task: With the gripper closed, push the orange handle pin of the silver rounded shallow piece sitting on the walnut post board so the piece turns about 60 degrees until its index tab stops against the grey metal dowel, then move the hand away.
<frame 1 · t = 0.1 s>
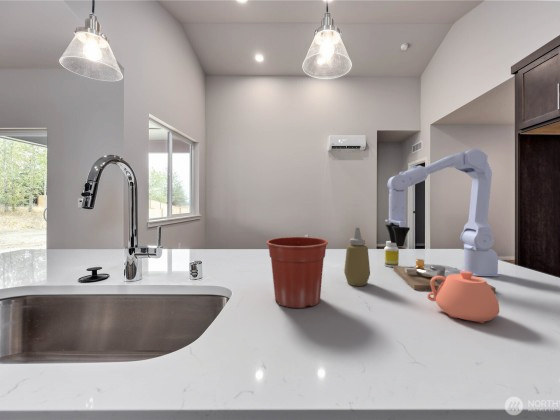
hand: (396, 244, 100), 10 cm above the counter, tool pointing down, fingers open, 7 cm apart
squeeze bottle: (356, 284, 86), on the counter
silver rounded shallow piece: (432, 266, 89), point 4 cm above the counter, hinge at 0.0°
post board: (437, 280, 89), on the counter
flower pot: (297, 300, 73), on the counter
sugar bowl: (460, 314, 63), on the counter
supplement bottle: (391, 266, 109), on the counter
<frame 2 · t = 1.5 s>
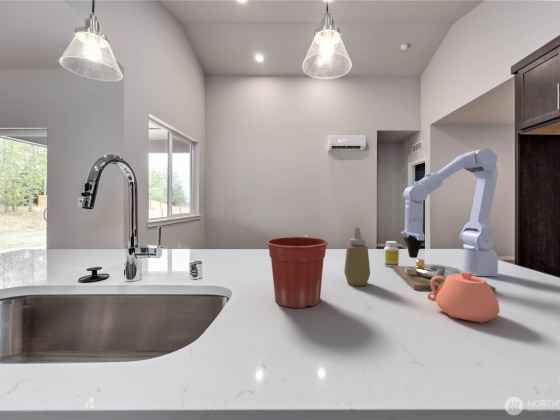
hand: (413, 257, 96), 6 cm above the counter, tool pointing down, fingers closed
nothing on the counter moved.
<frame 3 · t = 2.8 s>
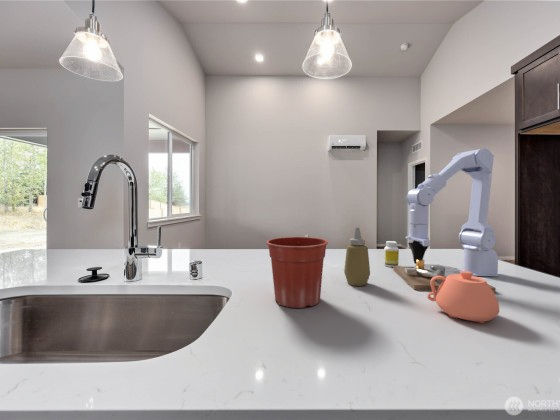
hand: (418, 263, 92), 5 cm above the counter, tool pointing down, fingers closed, pressing on silver rounded shallow piece
silver rounded shallow piece: (432, 266, 89), point 4 cm above the counter, hinge at 0.9°, touching gripper
everything else where it was.
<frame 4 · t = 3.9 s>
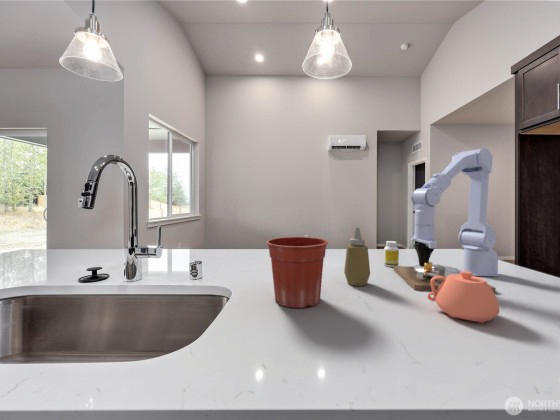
hand: (423, 266, 88), 5 cm above the counter, tool pointing down, fingers closed, pressing on silver rounded shallow piece
silver rounded shallow piece: (435, 267, 88), point 4 cm above the counter, hinge at 38.9°, touching gripper
everything else where it was.
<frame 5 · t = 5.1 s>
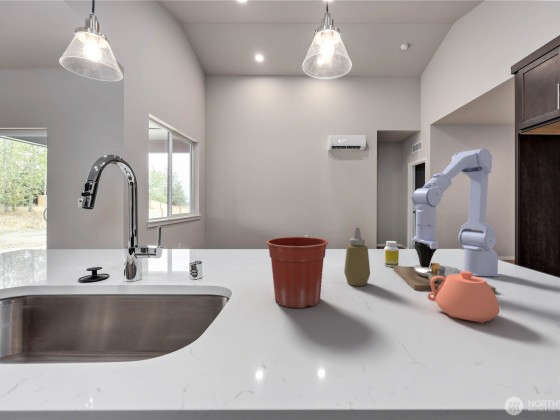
hand: (424, 267, 87), 5 cm above the counter, tool pointing down, fingers closed
silver rounded shallow piece: (436, 267, 88), point 4 cm above the counter, hinge at 59.9°
everything else where it was.
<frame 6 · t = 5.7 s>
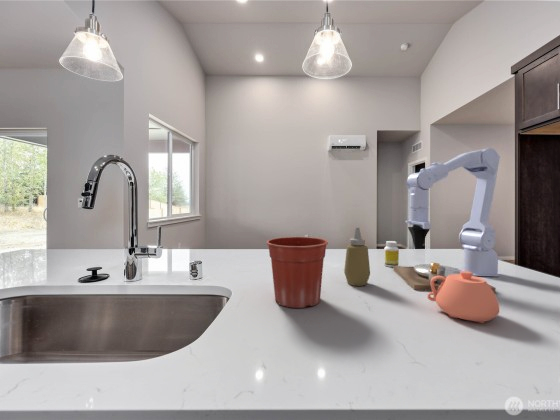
hand: (418, 247, 92), 10 cm above the counter, tool pointing down, fingers closed
nothing on the counter moved.
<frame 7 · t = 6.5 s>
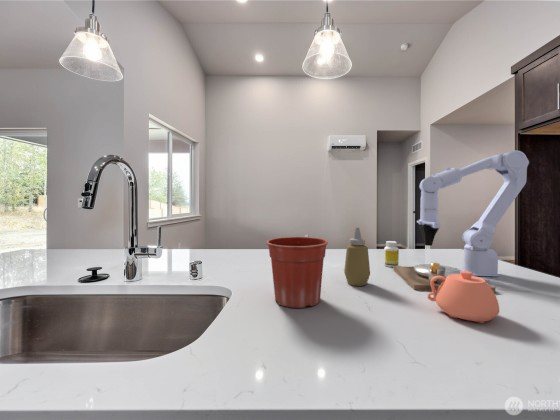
hand: (428, 245, 102), 9 cm above the counter, tool pointing down, fingers closed
nothing on the counter moved.
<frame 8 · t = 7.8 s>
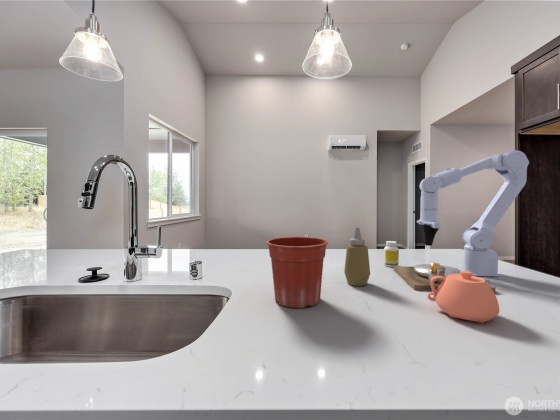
hand: (428, 245, 102), 9 cm above the counter, tool pointing down, fingers closed
nothing on the counter moved.
at the end: silver rounded shallow piece at +60° (first picture: +0°); supplement bottle moved 0.2 cm from its start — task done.
